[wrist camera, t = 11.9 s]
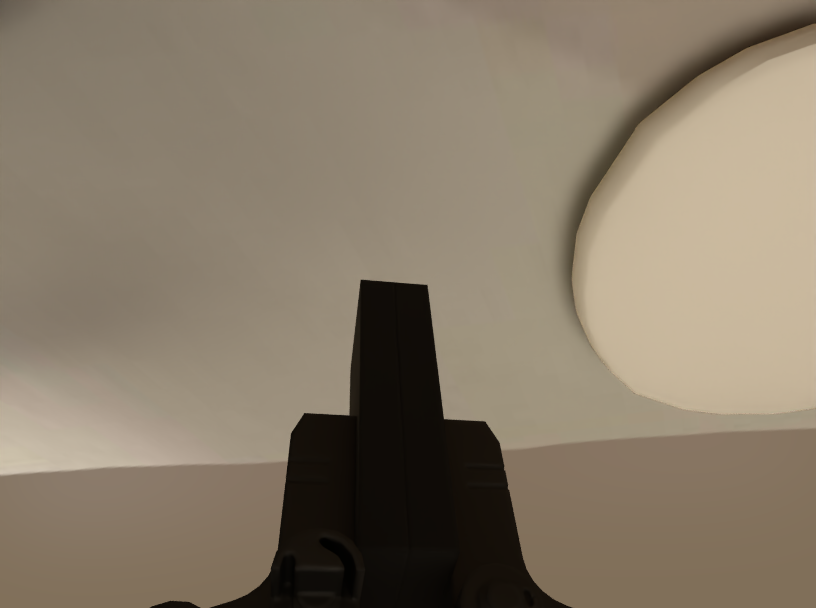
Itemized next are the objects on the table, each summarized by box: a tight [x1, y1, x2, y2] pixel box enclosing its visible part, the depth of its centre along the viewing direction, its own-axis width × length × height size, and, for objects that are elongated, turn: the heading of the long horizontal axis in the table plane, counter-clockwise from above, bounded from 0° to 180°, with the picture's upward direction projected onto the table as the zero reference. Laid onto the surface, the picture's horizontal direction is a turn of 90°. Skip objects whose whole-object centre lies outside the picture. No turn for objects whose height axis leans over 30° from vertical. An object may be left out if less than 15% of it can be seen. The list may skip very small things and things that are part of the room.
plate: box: [572, 23, 816, 414], centre depth 40 cm, size 28×6×27 cm
